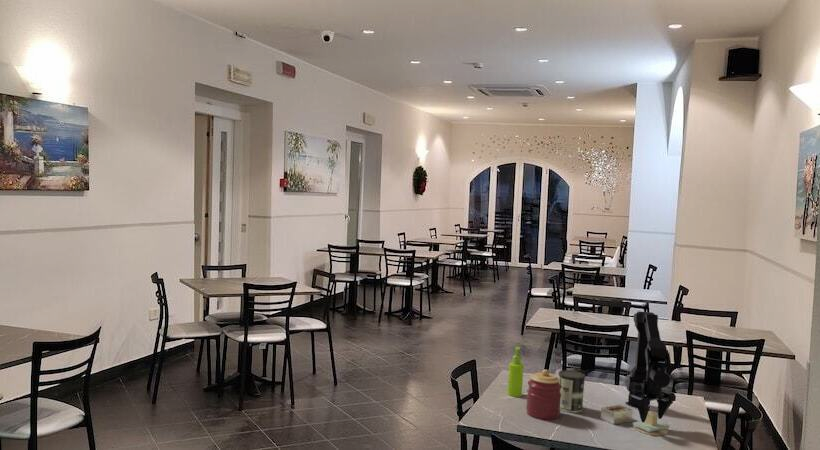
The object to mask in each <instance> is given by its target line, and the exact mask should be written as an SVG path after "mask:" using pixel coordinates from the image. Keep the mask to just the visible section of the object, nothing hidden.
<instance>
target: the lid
mask: <svg viewBox="0 0 820 450" xmlns="http://www.w3.org/2000/svg"><path fill="white" fill-rule="evenodd" d="M632 426H633V427H634V426H637V427H639V428H641V429H643V430H645V431H648V432H652V431H656V430H661V429H665V428H666V429H669V428H670V424H666V423H664V422H662V421H659V420H658V413H656V412H653V411H649V412H648V415H647V417H646V420H645V422H644V423H643V422H642V421H641V420H640V421H634V422H632Z"/></svg>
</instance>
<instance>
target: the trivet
mask: <svg viewBox="0 0 820 450" xmlns="http://www.w3.org/2000/svg"><path fill="white" fill-rule="evenodd" d="M633 429H635V430H636V431H637V432H639V433H643V434H644V435H649V436H654V437H655V436H656V437H657V436H662V437H663V436H666V435H668V434H669V430H668V428H665V429H661V430H656V431H652V432H648V431H645V430H643V429H641V428H639V427H637V426H634V425H633Z"/></svg>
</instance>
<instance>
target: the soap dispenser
mask: <svg viewBox="0 0 820 450" xmlns="http://www.w3.org/2000/svg"><path fill="white" fill-rule="evenodd" d="M521 349H522V346H515V348H514V351H515V354H514V355H512V362H509V363H508V364H509V365H508V366H509V367H508V368H509V369H508V381H507V383H508V384H507V395H508V396H509V397H513V398H519V397H522V393H523V380H524V366H525V364H524V363H522V355H520V350H521Z"/></svg>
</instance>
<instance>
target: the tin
mask: <svg viewBox="0 0 820 450" xmlns="http://www.w3.org/2000/svg"><path fill="white" fill-rule="evenodd" d="M633 412H634V410H633V409H632V408H629V407H627V406H624V405H622V404H613V405H609V406H603V407H601V408H600V420H603V421H605V422H607V423H608V424H611V425H612V426H614V425H620V424H621V425H622V424H625V423H630V422H633Z"/></svg>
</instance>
